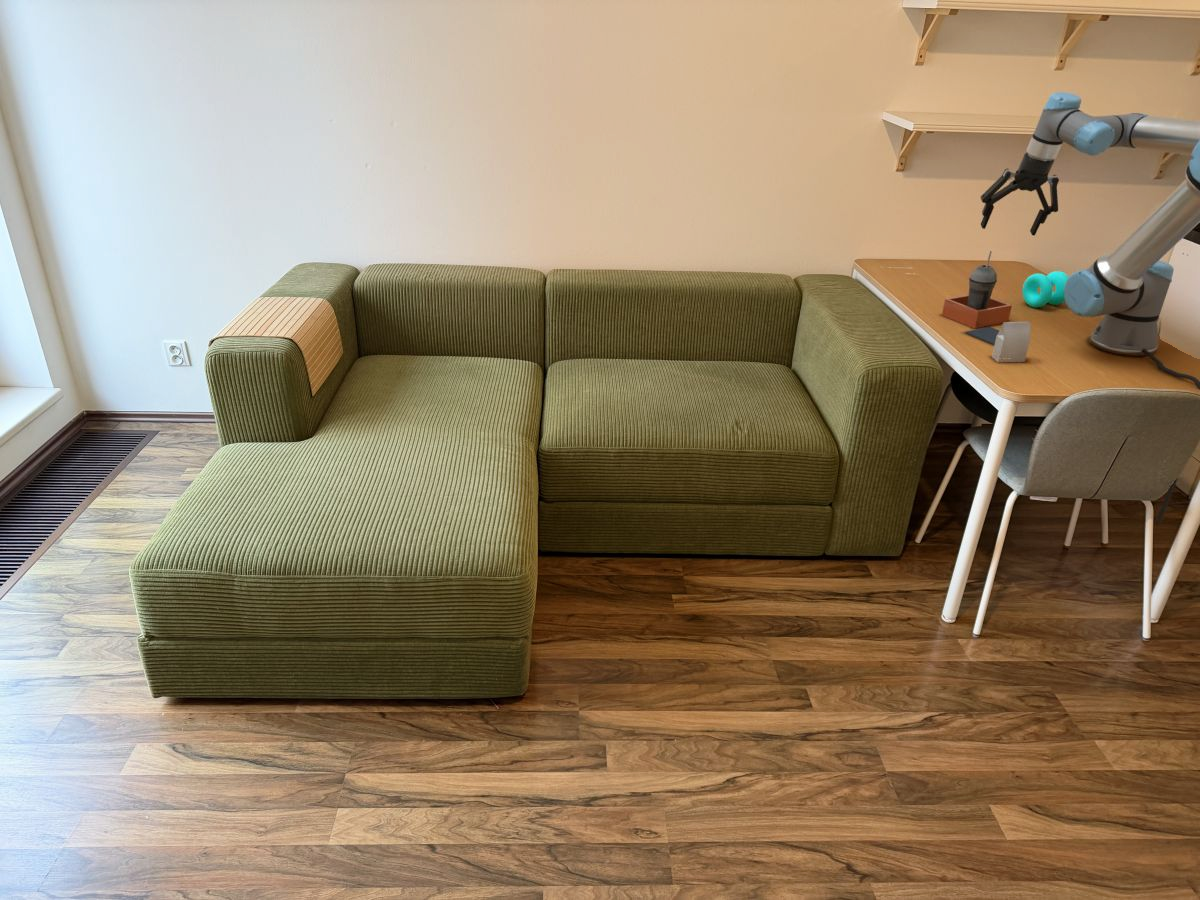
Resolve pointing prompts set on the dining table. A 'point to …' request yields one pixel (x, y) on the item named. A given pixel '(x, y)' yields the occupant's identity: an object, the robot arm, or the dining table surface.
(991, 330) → the pad
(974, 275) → the beverage cup
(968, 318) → the open reddish-brown box
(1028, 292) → the donuts
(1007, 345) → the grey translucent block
